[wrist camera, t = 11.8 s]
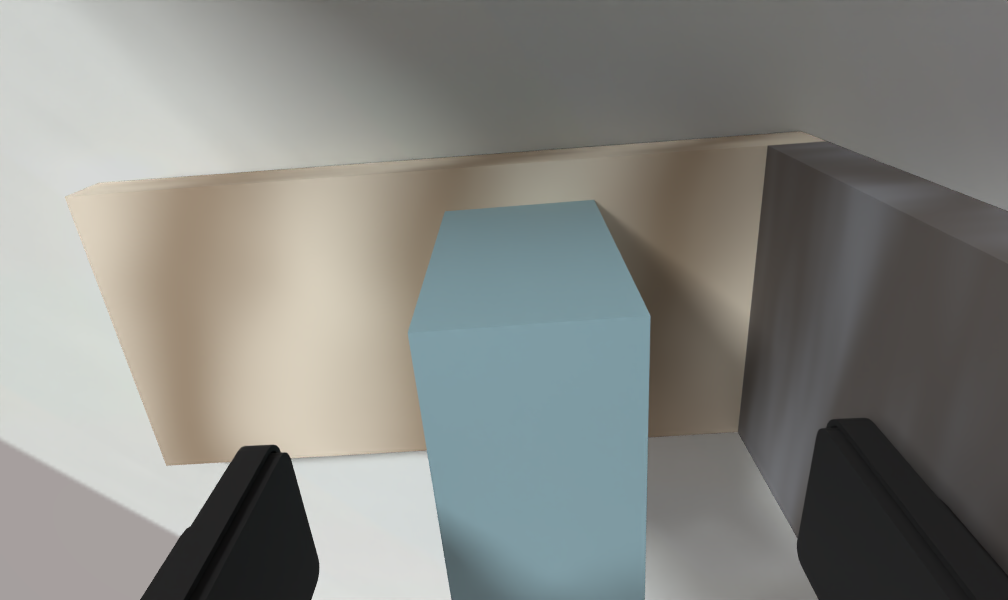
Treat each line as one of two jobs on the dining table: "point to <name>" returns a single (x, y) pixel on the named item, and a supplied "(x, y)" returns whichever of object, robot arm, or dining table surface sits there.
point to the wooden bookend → (652, 265)
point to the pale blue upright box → (535, 404)
